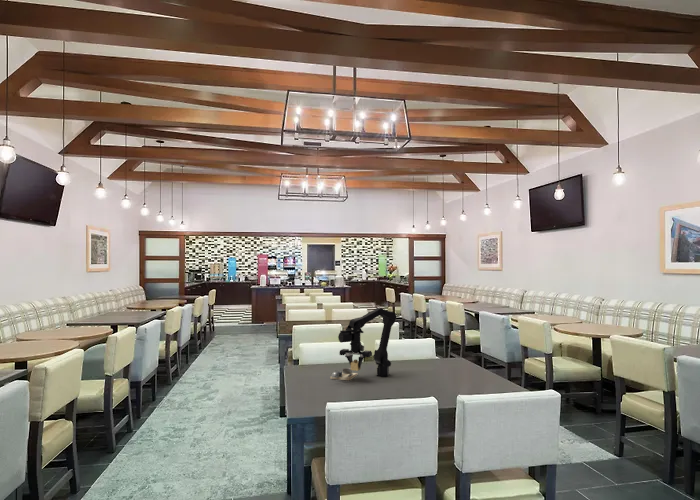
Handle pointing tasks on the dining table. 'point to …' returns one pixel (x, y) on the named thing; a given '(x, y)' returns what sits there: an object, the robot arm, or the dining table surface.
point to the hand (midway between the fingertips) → (355, 367)
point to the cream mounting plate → (346, 374)
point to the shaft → (336, 374)
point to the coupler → (355, 365)
